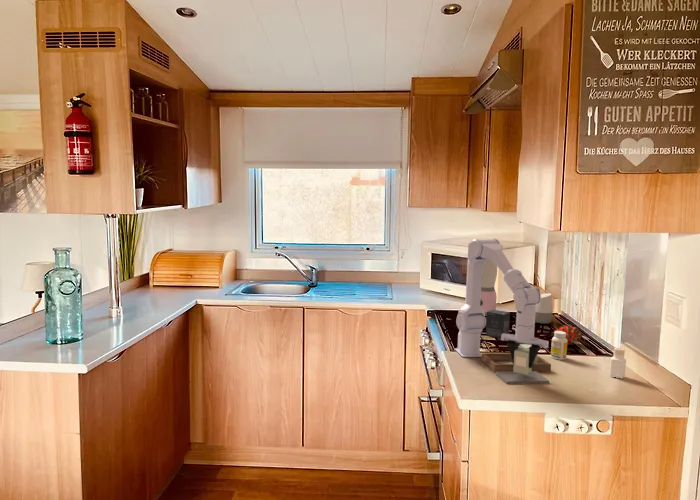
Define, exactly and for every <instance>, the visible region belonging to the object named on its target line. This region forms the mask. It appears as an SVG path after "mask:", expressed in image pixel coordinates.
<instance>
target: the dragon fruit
mask: <svg viewBox="0 0 700 500" xmlns="http://www.w3.org/2000/svg"><path fill="white" fill-rule="evenodd" d="M555 331H563V332H565V333H566V337H565V338H566V339H567V341H568V342H567V346H568V345H571V346H573V345H575V343H579V342H581V340H582V337H583V334H582V331H581V330H580V328H578V327H575V326H573V325H572V324H570V325H565V324H562V325H561V326H558V327H557V328H556V329H555ZM555 331H552V333H551V334H550V337H552V336H553V337H555V336H554V332H555Z"/></svg>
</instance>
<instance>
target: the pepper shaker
mask: <svg viewBox="0 0 700 500" xmlns="http://www.w3.org/2000/svg"><path fill="white" fill-rule="evenodd" d="M625 350H626V349H625V348H623V347H622V348H621V347H614V348H613V356H612V357H610V365H609V366H610V367H609V377H611V378H614V377H616V378H615V379H619V378H621V379H620V380H622V379H624V378H625V377H626V376H625V375H626V366H627V359H626V358H625Z"/></svg>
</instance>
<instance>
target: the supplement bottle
mask: <svg viewBox="0 0 700 500" xmlns="http://www.w3.org/2000/svg"><path fill="white" fill-rule="evenodd" d="M553 332H554V331H553ZM554 336H555V337H554ZM554 336H553V337H552V339H551V347H550V348H551V349H550V358H552V359H554V360H557V359H558V360H559V361H563V360H564V361H565V360H566V359H567V354H568V353H567V352H568V345H567V342H568V341H567V339H566V338H565V337H566V333H565V332H563V331H555V332H554Z"/></svg>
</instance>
